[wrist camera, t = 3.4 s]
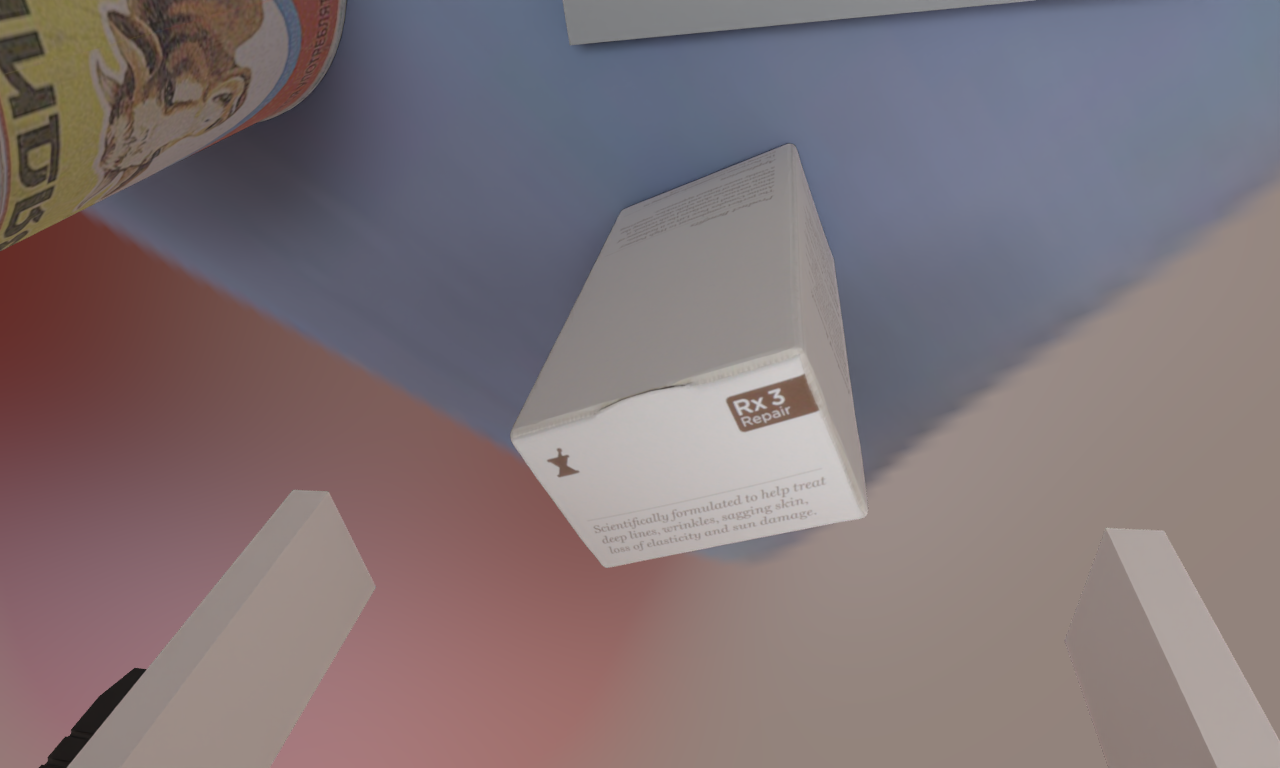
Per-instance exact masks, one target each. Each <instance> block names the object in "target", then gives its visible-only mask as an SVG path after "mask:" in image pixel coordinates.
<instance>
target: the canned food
mask: <svg viewBox="0 0 1280 768" xmlns="http://www.w3.org/2000/svg"><path fill="white" fill-rule="evenodd" d="M346 1H347V0H0V251H2V250H4V249H6V248H8V247H9V246H11V245H14V244H15V243H18V242H20V241H22V240H24V239H26V238H27V237H30V236H32V235H33V234H35V233H37V232H39V231H41V230H43V229H45V228H47V227H49V226H51V225H53V224H55V223H57V222H59V221H61V220H63V219H65V218H67V217H69V216H71V215H73V214H75V213H77V212H79V211H81V210H83V209H85V208H87V207H89V206H91V205H93V204H95V203H97V202H99V201H101V200H103V199H105V198H107V197H109V196H111V195H113V194H115V193H117V192H119V191H121V190H123V189H125V188H127V187H129V186H131V185H133V184H135V183H137V182H139V181H141V180H143V179H145V178H147V177H149V176H151V175H153V174H155V173H157V172H159V171H161V170H163V169H165V168H167V167H169V166H171V165H173V164H175V163H177V162H179V161H181V160H183V159H185V158H187V157H189V156H191V155H193V154H195V153H197V152H199V151H201V150H203V149H205V148H207V147H209V146H211V145H213V144H215V143H217V142H219V141H221V140H223V139H225V138H227V137H229V136H231V135H233V134H235V133H237V132H239V131H241V130H243V129H245V128H247V127H249V126H251V125H253V124H255V123H257V122H262V121H265V120H268V119H271V118H274V117H276V116H278V115H280V114H282V113H284V112H286V111H288V110H290V109H292V108H293V107H295V106H296V105H297V104H299V103H300V102H302V101H303V100H304V99H305V98H306V97H307V96H308V95H309V94H310V93H311V92H312V91H313V90H314V89H315V88H316V86H317V85H318V84H319V83H320V82H321V80H322V79H323V77H324V75H325V74H326V72H327V70H328V69H329V67H330V65H331V63H332V60H333V58H334V56H335V54H336V51H337V48H338V45H339V41H340V38H341V34H342V29H343V25H344V20H345V10H346Z"/></svg>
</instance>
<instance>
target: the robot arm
mask: <svg viewBox="0 0 1280 768" xmlns="http://www.w3.org/2000/svg"><path fill="white" fill-rule="evenodd" d="M375 588H376V586H375V584H374V582H373V580H372V578H371V576H370V574H369V572H368V570H367V568H366V566H365V564H364V562H363V560H362V558H361V556H360V554H359V552H358V550H357V548H356V546H355V544H354V542H353V540H352V538H351V536H350V534H349V532H348V530H347V528H346V526H345V524H344V522H343V520H342V518H341V516H340V514H339V512H338V509H337V508H336V506H335V504H334V501H333V500H332V498H331V495H330V493H329V492H328V491H309V490H292V492H291V493H290V494H289V495H288V497H287V498H286V499H285V500H284V501H283V503H282V504H281V505H280V506H279V508H278V509H277V510H276V511H275V513H274V514H273V515H272V516H271V518H270V519H269V520H268V521H267V522H266V524H265V525H264V526H263V527H262V529H261V530H260V531H259V532H258V533H257V535H256V536H255V537H254V538H253V540H252V541H251V542H250V543H249V544H248V546H247V547H246V548H245V550H244V551H243V552H242V553H241V554H240V556H239V557H238V558H237V559H236V560H235V562H234V563H233V564H232V565H231V567H230V568H229V569H228V570H227V572H226V573H225V574H224V575H223V576H222V578H221V579H220V580H219V581H218V583H217V584H216V585H215V586H214V588H213V589H212V590H211V591H210V592H209V594H208V595H207V596H206V597H205V598H204V600H203V601H202V602H201V604H200V605H199V606H198V607H197V608H196V610H195V611H194V612H193V613H192V615H191V616H190V617H189V618H188V619H187V621H186V622H185V623H184V624H183V626H182V627H181V628H180V629H179V631H178V632H177V633H176V634H175V636H174V637H173V638H172V639H171V640H170V641H169V643H168V644H167V645H166V646H165V648H164V649H163V650H162V651H161V653H160V654H159V655H158V656H157V657H156V659H155V660H154V661H153V663H152V664H151V665H150V666H149V667H148V669H139V668H134V669H133V670H132V671H130V672H129V673H128V674H127V675H125V676H124V677H123V678H122V679H120V680H119V681H118V682H117V683H115V684H114V685H113V686H112V687H111V688H109V689H108V690H107V691H105V692H104V693H103V694H102V695H100V696H99V697H98V699H97V700H96V701H95V702H94V703H93V704H92V706H91V707H90V708H89V709H88V711H87V712H86V713H85V714H84V715H83V716H82V717H81V719H80V720H79V721H78V722H77V723H76V725H75V726H74V727H73V728H72V729H71V731H72V732H71V734H70V736H68V737H65V738H64V739H63V740H62V741H61V742H60V744H59V745H58V746H57V747H56V748H55V750H54V751H53V752H52V753H51V754H50V755H49V757H48V762H47V763H46V764H45V765H41V766H40V767H39V768H270V767H271V765H272V763H273V762H274V760H275V758H276V756H277V755H278V753H279V751H280V750H281V748H282V746H283V745H284V743H285V741H286V739H287V738H288V736H289V734H290V733H291V731H292V729H293V728H294V726H295V724H296V722H297V721H298V719H299V717H300V716H301V714H302V712H303V711H304V709H305V707H306V705H307V704H308V702H309V700H310V699H311V697H312V695H313V693H314V692H315V690H316V688H317V687H318V685H319V683H320V681H321V680H322V678H323V676H324V675H325V673H326V671H327V669H328V668H329V666H330V665H331V663H332V661H333V660H334V658H335V656H336V654H337V653H338V651H339V649H340V647H341V646H342V644H343V643H344V641H345V639H346V637H347V636H348V634H349V632H350V631H351V629H352V627H353V625H354V624H355V622H356V620H357V619H358V616H359V615H360V614H361V612H362V610H363V608H364V607H365V605H366V603H367V602H368V600H369V598H370V597H371V595H372V593H373V592H374V590H375ZM1065 644H1066V646H1067V649H1068V652H1069V655H1070V658H1071V661H1072V664H1073V667H1074V670H1075V672H1076V676H1077V679H1078V681H1079V684H1080V687H1081V690H1082V693H1083V696H1084V699H1085V702H1086V705H1087V708H1088V711H1089V713H1090V716H1091V719H1092V722H1093V725H1094V728H1095V731H1096V734H1097V736H1098V740H1099V743H1100V745H1101V748H1102V751H1103V754H1104V757H1105V760H1106V763H1107V766H1108V768H1280V741H1279V739H1278V737H1277V735H1276V734H1275V732H1274V730H1273V728H1272V726H1271V724H1270V722H1269V721H1268V719H1267V717H1266V715H1265V713H1264V711H1263V710H1262V708H1261V706H1260V704H1259V703H1258V701H1257V699H1256V697H1255V695H1254V693H1253V692H1252V690H1251V688H1250V686H1249V684H1248V682H1247V681H1246V679H1245V677H1244V675H1243V674H1242V672H1241V670H1240V668H1239V666H1238V664H1237V662H1236V661H1235V659H1234V657H1233V655H1232V654H1231V652H1230V650H1229V648H1228V646H1227V644H1226V642H1225V641H1224V639H1223V637H1222V635H1221V633H1220V632H1219V630H1218V628H1217V626H1216V624H1215V623H1214V621H1213V619H1212V617H1211V615H1210V613H1209V612H1208V610H1207V608H1206V606H1205V604H1204V603H1203V601H1202V599H1201V597H1200V595H1199V593H1198V592H1197V590H1196V588H1195V586H1194V584H1193V583H1192V581H1191V579H1190V577H1189V575H1188V574H1187V572H1186V570H1185V568H1184V566H1183V565H1182V563H1181V561H1180V559H1179V557H1178V555H1177V554H1176V552H1175V550H1174V548H1173V546H1172V544H1171V543H1170V541H1169V539H1168V537H1167V536H1166V534H1165V532H1164V531H1161V530H1140V529H1119V528H1118V529H1116V528H1106V529H1105V532H1104V534H1103V537H1102V540H1101V542H1100V545H1099V548H1098V551H1097V554H1096V556H1095V559H1094V562H1093V564H1092V567H1091V570H1090V573H1089V575H1088V578H1087V581H1086V583H1085V586H1084V589H1083V592H1082V594H1081V597H1080V600H1079V603H1078V606H1077V608H1076V611H1075V613H1074V616H1073V619H1072V622H1071V624H1070V627H1069V630H1068V633H1067V635H1066V638H1065Z"/></svg>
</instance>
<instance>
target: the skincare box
mask: <svg viewBox="0 0 1280 768" xmlns="http://www.w3.org/2000/svg"><path fill="white" fill-rule="evenodd" d="M510 437H511V441H512V443H513V445H514V446H515V448H516V449H517V451H518V452H519V453H520V455H521V456H522V458H523V459H524V461H525V462H526V464H527V465H528V467H529V468H530V469H531V471H532V472H533V474H534V475H535V477H536V478H537V479H538V481H539V482H540V483H541V485H542V486H543V487H544V488H545V490H546V491H547V493H548V494H549V495H550V497H551V498H552V500H553V501H554V503H555V504H556V505H557V507H558V508H559V509H560V510H561V512H562V513H563V515H564V516H565V517H566V519H567V520H568V522H569V523H570V524H571V526H572V528H574V530H575V531H576V533H577V534H578V536H579V537H580V538H581V540H582V541H583V542H584V543H585V545H586V546H587V547H588V549H589V550H590V551H591V552H592V553H593V554H594V556H595V557H596V558H597V559H598V560H599V562H600V563H601V564H602V566H604V567H606V568H609V567H615V566H619V565H624V564H629V563H634V562H639V561H644V560H649V559H654V558H659V557H664V556H670V555H675V554H680V553H685V552H690V551H695V550H700V549H706V548H710V547H715V546H720V545H726V544H731V543H736V542H741V541H746V540H751V539H756V538H762V537H767V536H772V535H777V534H781V533H787V532H792V531H798V530H803V529H808V528H813V527H818V526H823V525H828V524H834V523H839V522H844V521H850V520H857V519H862V518H864V517H865V516H866V515H867V513H868V500H867V493H866V485H865V478H864V470H863V462H862V455H861V447H860V441H859V436H858V430H857V424H856V417H855V411H854V404H853V396H852V389H851V382H850V375H849V368H848V360H847V353H846V345H845V337H844V330H843V322H842V315H841V308H840V301H839V294H838V287H837V280H836V273H835V265H834V258H833V256H832V253H831V251H830V248H829V245H828V242H827V240H826V237H825V234H824V231H823V228H822V225H821V222H820V219H819V216H818V213H817V210H816V207H815V204H814V201H813V198H812V195H811V192H810V189H809V186H808V183H807V180H806V177H805V174H804V171H803V168H802V165H801V161H800V158H799V155H798V151H797V149H796V147H795V146H794V145H793V144H786V145H783V146H781V147H778V148H776V149H773V150H771V151H768V152H766V153H764V154H761V155H759V156H756V157H753V158H751V159H748V160H746V161H743V162H741V163H738V164H736V165H733V166H731V167H728V168H726V169H723V170H721V171H718V172H716V173H713V174H711V175H708V176H706V177H703V178H701V179H698V180H696V181H693V182H691V183H688V184H686V185H683V186H681V187H678V188H676V189H673V190H671V191H668V192H666V193H663V194H661V195H658V196H655V197H653V198H650V199H648V200H645V201H643V202H640V203H637V204H635V205H632V206H630V207H628V208H626V209H624V210H622V211H621V212H620V214H619V216H618V218H617V220H616V222H615V224H614V226H613V228H612V230H611V232H610V234H609V236H608V238H607V240H606V242H605V244H604V246H603V248H602V250H601V252H600V254H599V256H598V258H597V260H596V262H595V264H594V266H593V268H592V270H591V272H590V274H589V276H588V278H587V280H586V282H585V284H584V286H583V288H582V291H581V293H580V294H579V296H578V298H577V300H576V302H575V304H574V306H573V308H572V310H571V312H570V314H569V316H568V318H567V320H566V322H565V324H564V326H563V328H562V330H561V332H560V334H559V336H558V338H557V340H556V342H555V344H554V346H553V348H552V350H551V352H550V354H549V356H548V358H547V360H546V362H545V364H544V366H543V368H542V370H541V372H540V374H539V376H538V378H537V380H536V382H535V384H534V386H533V388H532V390H531V392H530V394H529V396H528V398H527V400H526V402H525V404H524V406H523V408H522V410H521V412H520V414H519V416H518V418H517V420H516V422H515V424H514V426H513V428H512V431H511V434H510Z"/></svg>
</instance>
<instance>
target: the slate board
mask: <svg viewBox="0 0 1280 768" xmlns="http://www.w3.org/2000/svg"><path fill="white" fill-rule="evenodd" d="M1024 1H1034V0H563V6H564V13H565V19H566V25H567V31H568V37H569V44H570V45H577V44H588V43H598V42H609V41H619V40H629V39H640V38H650V37H661V36H671V35H681V34H692V33H702V32H712V31H723V30H733V29H744V28H754V27H764V26H775V25H785V24H795V23H806V22H816V21H827V20H837V19H847V18H858V17H868V16H879V15H889V14H899V13H910V12H920V11H930V10H941V9H951V8H962V7H972V6H982V5H993V4H1003V3H1013V2H1024Z"/></svg>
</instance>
